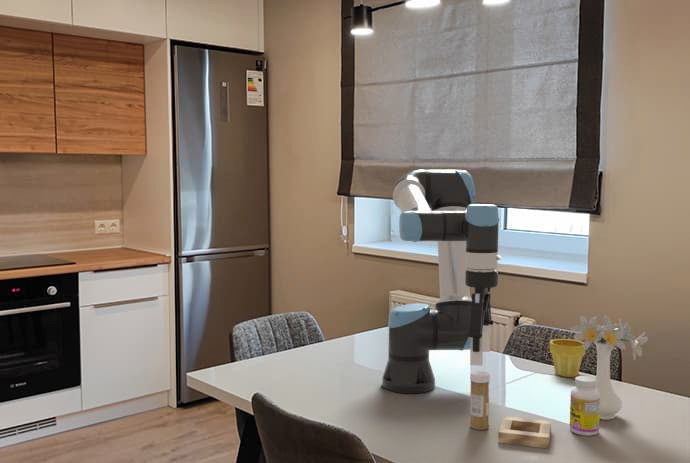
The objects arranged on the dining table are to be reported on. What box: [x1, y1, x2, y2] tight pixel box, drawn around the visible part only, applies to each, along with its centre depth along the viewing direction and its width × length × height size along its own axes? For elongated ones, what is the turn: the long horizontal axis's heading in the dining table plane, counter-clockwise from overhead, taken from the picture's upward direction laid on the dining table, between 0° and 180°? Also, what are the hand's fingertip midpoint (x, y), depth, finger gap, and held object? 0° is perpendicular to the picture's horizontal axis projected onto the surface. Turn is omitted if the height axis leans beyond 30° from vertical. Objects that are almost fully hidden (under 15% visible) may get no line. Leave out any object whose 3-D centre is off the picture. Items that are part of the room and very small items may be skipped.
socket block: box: [498, 415, 552, 449], centre depth 164 cm, size 11×11×2 cm
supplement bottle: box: [569, 375, 600, 437], centre depth 167 cm, size 7×7×13 cm
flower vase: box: [569, 315, 649, 421], centre depth 178 cm, size 13×18×25 cm
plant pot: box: [549, 338, 586, 378], centre depth 215 cm, size 10×10×10 cm
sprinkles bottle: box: [469, 370, 491, 431], centre depth 170 cm, size 5×5×13 cm
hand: (480, 358), depth 169 cm, fingers open, 13 cm apart
